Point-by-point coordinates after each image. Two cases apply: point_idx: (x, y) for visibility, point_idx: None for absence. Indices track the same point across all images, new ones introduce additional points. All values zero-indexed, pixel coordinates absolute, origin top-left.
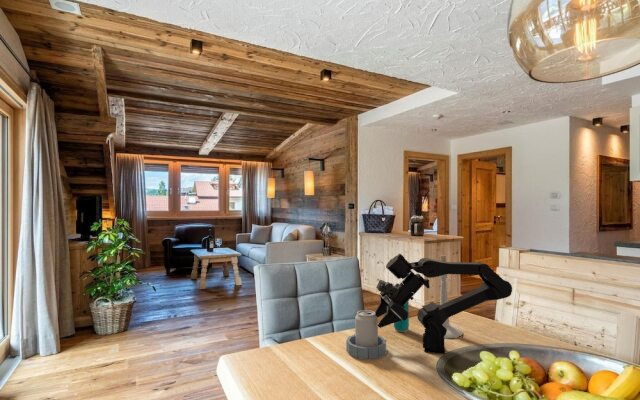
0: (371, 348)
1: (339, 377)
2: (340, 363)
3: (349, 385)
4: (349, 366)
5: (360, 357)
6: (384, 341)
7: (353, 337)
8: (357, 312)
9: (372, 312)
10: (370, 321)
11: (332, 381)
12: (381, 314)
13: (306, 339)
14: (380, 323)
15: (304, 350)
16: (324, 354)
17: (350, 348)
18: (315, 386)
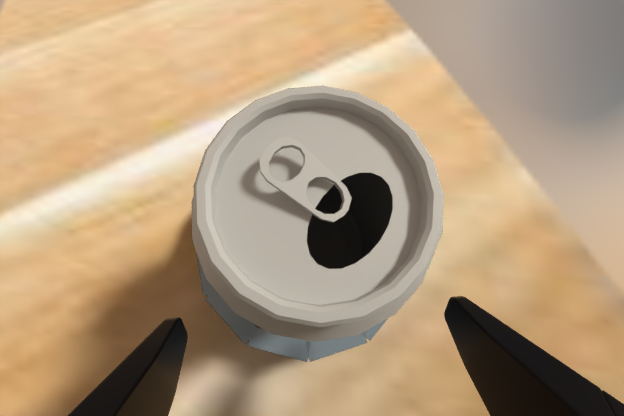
0: (197, 256)
1: (77, 127)
2: (190, 135)
3: (7, 156)
4: (160, 165)
5: None
6: (292, 348)
7: None
8: (331, 88)
9: (384, 283)
10: (194, 239)
11: (53, 105)
12: (493, 411)
13: (407, 30)
14: (135, 355)
15: (308, 26)
16: (273, 85)
17: None
18: (32, 57)
